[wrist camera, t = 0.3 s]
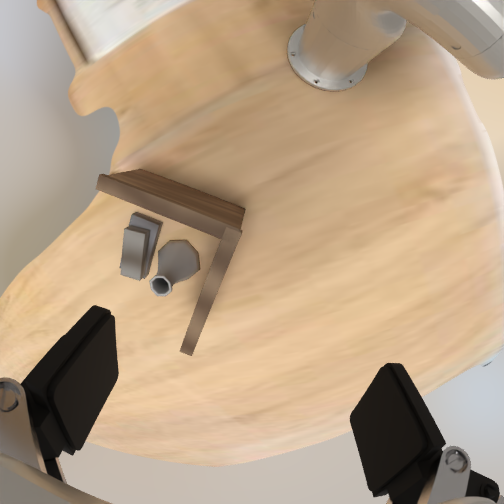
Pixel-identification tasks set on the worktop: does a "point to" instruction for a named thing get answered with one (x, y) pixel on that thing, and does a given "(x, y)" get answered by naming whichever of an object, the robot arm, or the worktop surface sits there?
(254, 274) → the worktop surface
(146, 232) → the offcut top
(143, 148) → the worktop surface
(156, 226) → the tray
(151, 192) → the brown wooden corner wall
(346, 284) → the worktop surface
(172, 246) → the flask
